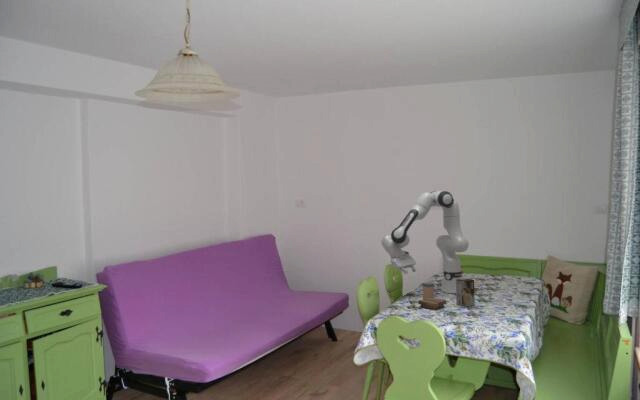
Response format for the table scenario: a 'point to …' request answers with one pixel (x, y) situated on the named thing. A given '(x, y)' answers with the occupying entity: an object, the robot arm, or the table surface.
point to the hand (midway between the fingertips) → (410, 272)
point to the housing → (428, 290)
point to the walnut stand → (432, 303)
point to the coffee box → (465, 292)
